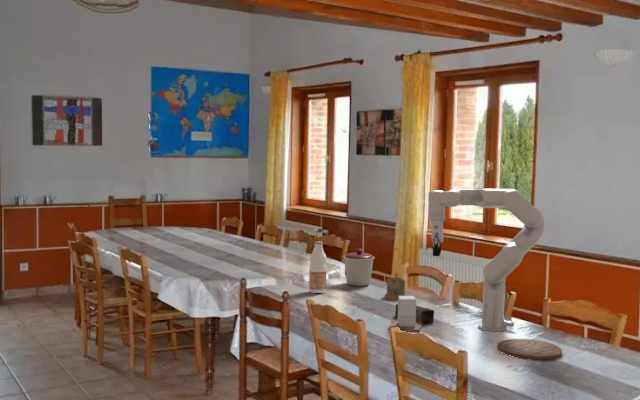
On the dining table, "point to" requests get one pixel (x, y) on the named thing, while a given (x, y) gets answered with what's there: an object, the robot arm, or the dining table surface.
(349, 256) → the canister
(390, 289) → the rusty metal bell
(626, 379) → the dining table surface
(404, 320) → the supplement box
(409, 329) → the tan square board
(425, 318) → the beverage carton
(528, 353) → the trivet
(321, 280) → the fruit juice
